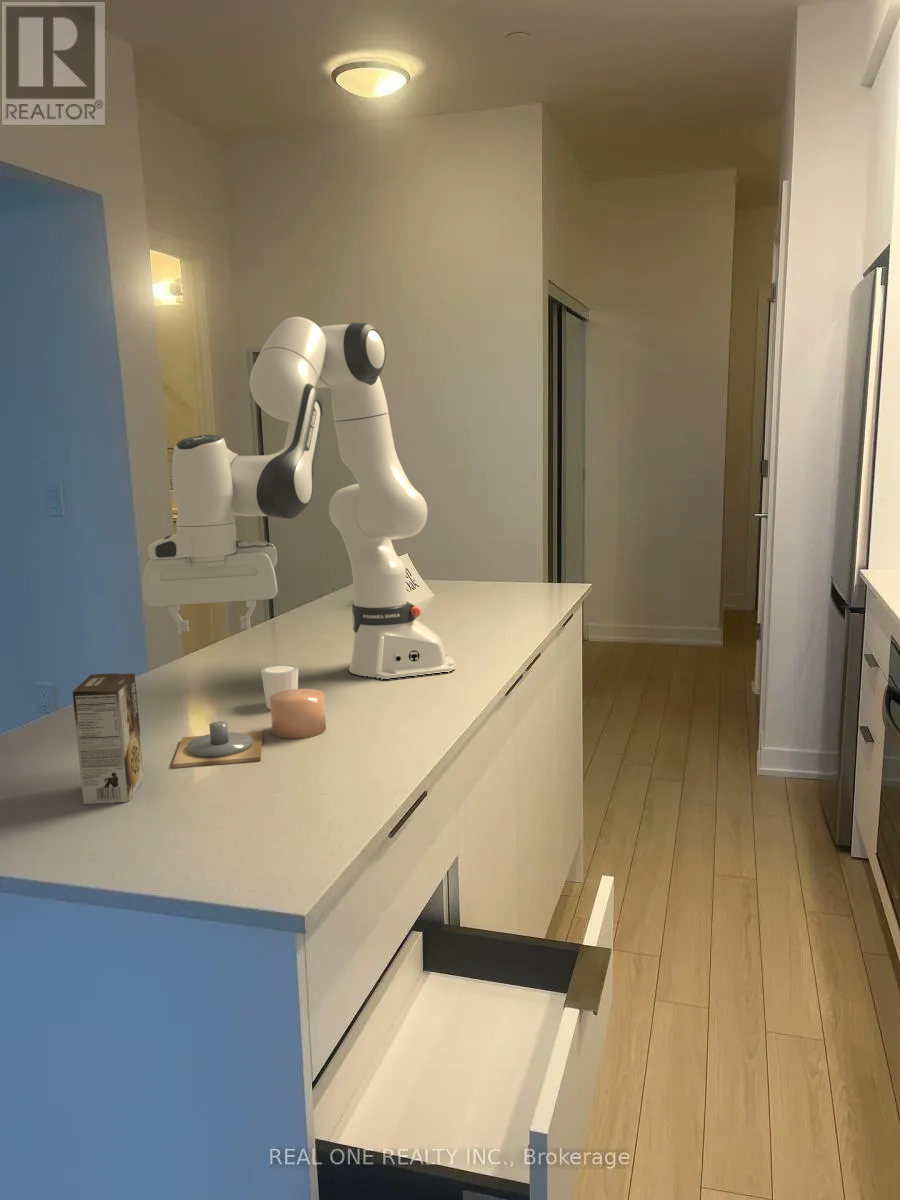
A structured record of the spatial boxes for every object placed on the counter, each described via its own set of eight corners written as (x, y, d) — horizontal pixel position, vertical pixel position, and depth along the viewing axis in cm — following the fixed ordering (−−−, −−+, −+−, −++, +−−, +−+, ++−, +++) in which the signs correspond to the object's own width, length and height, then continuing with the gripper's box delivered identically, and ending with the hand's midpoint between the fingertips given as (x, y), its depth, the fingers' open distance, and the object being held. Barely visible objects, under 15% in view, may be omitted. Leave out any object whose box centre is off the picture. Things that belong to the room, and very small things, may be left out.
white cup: (307, 701, 173) (305, 665, 172) (289, 712, 167) (286, 674, 165) (274, 699, 175) (272, 663, 174) (255, 709, 169) (253, 672, 168)
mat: (262, 734, 154) (262, 731, 154) (260, 760, 141) (260, 757, 141) (182, 740, 152) (182, 737, 152) (172, 767, 139) (172, 764, 139)
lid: (253, 734, 152) (251, 712, 152) (251, 754, 142) (249, 731, 142) (190, 739, 151) (189, 717, 150) (184, 760, 141) (182, 736, 140)
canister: (325, 720, 161) (323, 687, 160) (327, 736, 152) (325, 701, 151) (272, 724, 160) (270, 690, 159) (271, 740, 151) (269, 705, 150)
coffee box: (100, 781, 135) (90, 673, 132) (145, 778, 135) (136, 671, 132) (81, 805, 126) (70, 690, 123) (129, 802, 126) (119, 688, 123)
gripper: (276, 536, 147) (282, 621, 149) (142, 543, 143) (150, 630, 146) (276, 541, 141) (282, 629, 143) (136, 548, 137) (145, 639, 140)
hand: (214, 630), depth 145 cm, fingers open, 8 cm apart
